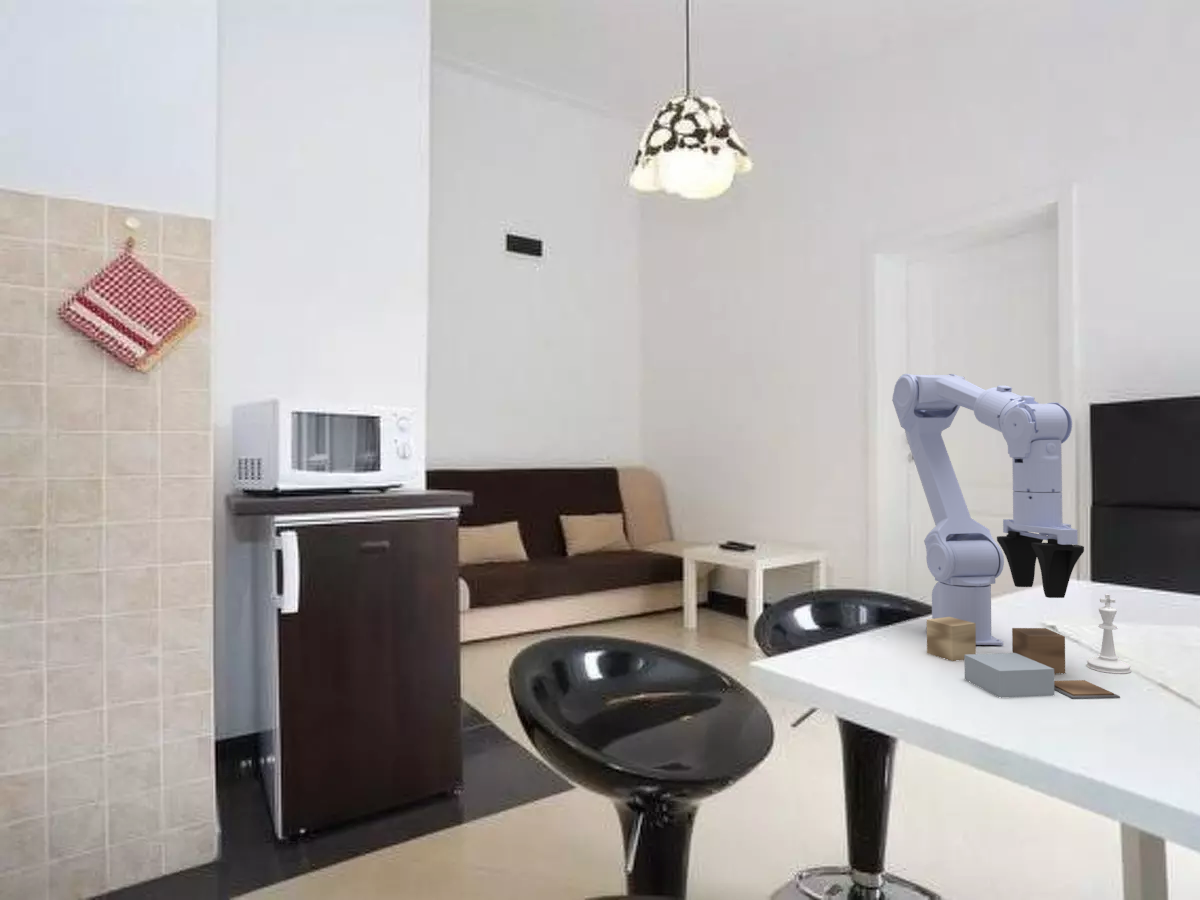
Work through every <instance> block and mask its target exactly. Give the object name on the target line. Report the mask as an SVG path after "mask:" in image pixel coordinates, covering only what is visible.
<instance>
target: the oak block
mask: <svg viewBox="0 0 1200 900" xmlns="http://www.w3.org/2000/svg"><path fill="white" fill-rule="evenodd" d="M926 627H927V630H926V654H928V655H931V656H934V655H935V657H937V656H939V657H938V658H940V657H941V658H940V659H943V658H945V659H944V660H946V659H948V660H947V661H949V660H951V661H950V662H957V661H956V660H959V661H964V655H968V654H977V648H976V647H977V645H976V623H972V622H968V621H965V620H961V619H957V618H953V617H943V618H935V619H932V618H928V619H926Z"/></svg>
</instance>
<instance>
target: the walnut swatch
mask: <svg viewBox="0 0 1200 900" xmlns="http://www.w3.org/2000/svg"><path fill="white" fill-rule="evenodd" d="M1054 691H1056V692H1057V693H1061V694H1062V695H1064V696H1066V697H1068V698H1070V699H1075V700H1076V699H1077V700H1078V699H1079V700H1080V699H1082V700H1083V699H1118V698H1119V699H1120V698H1121V696H1120V695H1119V694H1116V693H1114V692H1113V691H1109V690H1107V689H1105V688H1103V687H1100V686H1099V685H1097V684H1094V683H1091V682H1090V681H1087V680H1085V679H1081V680H1080V679H1079V680H1077V679H1076V680H1075V679H1074V680H1054Z"/></svg>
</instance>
